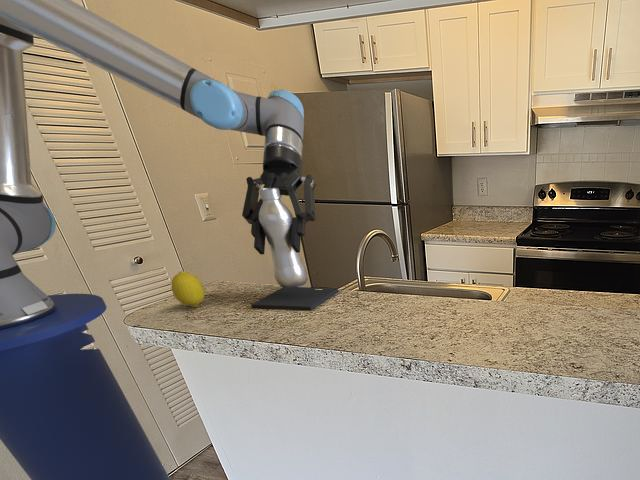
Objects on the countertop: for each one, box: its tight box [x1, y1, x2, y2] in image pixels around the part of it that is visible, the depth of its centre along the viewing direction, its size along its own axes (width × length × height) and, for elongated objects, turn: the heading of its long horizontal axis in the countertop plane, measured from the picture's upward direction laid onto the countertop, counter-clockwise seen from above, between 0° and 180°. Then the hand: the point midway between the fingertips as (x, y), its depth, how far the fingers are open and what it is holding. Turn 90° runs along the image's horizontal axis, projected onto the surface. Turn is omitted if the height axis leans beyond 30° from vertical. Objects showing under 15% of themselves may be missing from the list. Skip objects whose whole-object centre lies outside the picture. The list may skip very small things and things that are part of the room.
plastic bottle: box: [258, 188, 308, 288], centre depth 84 cm, size 6×7×20 cm
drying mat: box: [250, 286, 339, 311], centre depth 90 cm, size 14×12×1 cm
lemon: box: [170, 270, 206, 308], centre depth 86 cm, size 6×6×8 cm
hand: (277, 249), depth 82 cm, fingers closed on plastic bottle, 6 cm apart
